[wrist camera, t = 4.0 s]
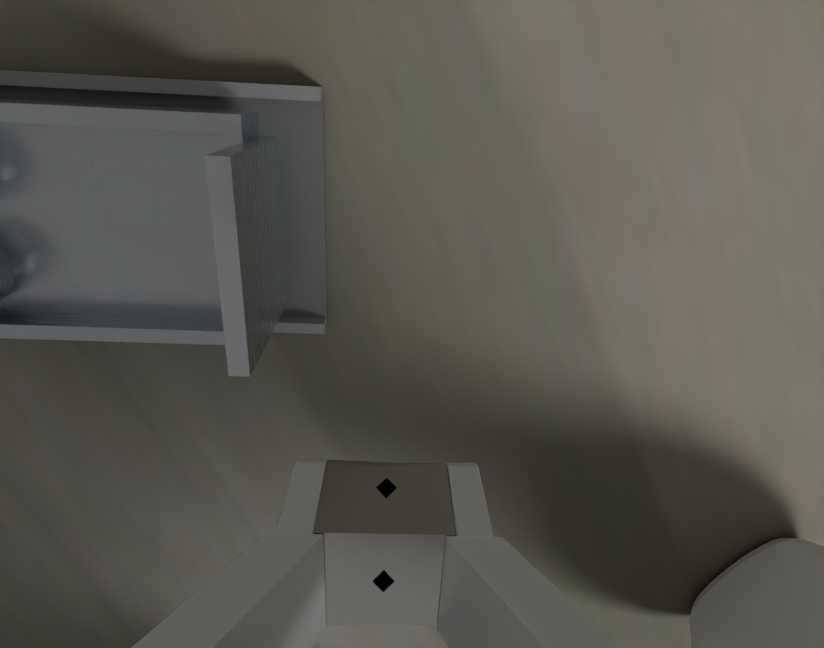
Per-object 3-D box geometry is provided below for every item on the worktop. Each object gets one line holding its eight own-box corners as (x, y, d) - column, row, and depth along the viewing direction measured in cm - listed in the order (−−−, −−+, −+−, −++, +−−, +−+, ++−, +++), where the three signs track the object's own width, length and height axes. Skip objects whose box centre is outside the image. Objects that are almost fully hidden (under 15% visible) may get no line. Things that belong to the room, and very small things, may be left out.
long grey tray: (284, 110, 24) (227, 122, 16) (293, 309, 29) (251, 399, 20) (-93, 91, 24) (-352, 94, 15) (-27, 298, 28) (-205, 387, 20)
